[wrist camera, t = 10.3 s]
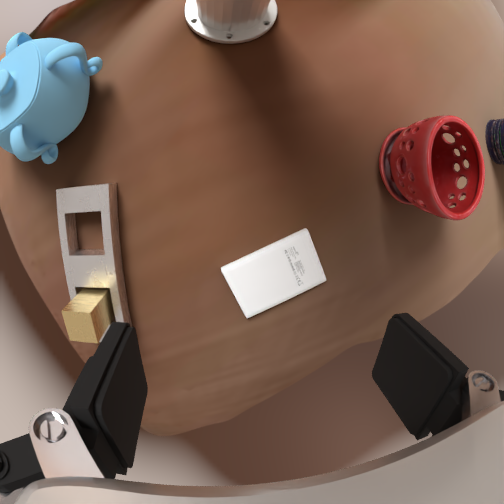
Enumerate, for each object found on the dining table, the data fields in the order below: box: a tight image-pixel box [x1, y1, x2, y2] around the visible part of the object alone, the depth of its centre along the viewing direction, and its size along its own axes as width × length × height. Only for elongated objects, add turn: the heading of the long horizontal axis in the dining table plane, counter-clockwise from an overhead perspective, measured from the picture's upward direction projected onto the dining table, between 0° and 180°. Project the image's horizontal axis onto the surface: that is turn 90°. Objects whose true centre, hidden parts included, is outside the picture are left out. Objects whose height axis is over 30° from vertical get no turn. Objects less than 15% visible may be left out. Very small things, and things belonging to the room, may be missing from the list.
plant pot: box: [379, 115, 485, 220], centre depth 30 cm, size 13×13×12 cm
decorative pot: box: [0, 32, 102, 164], centre depth 21 cm, size 16×16×14 cm
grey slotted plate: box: [56, 183, 132, 342], centre depth 33 cm, size 22×8×3 cm, turn 179°
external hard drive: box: [221, 228, 326, 318], centre depth 38 cm, size 2×8×12 cm
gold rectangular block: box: [62, 287, 115, 343], centre depth 32 cm, size 4×4×9 cm
